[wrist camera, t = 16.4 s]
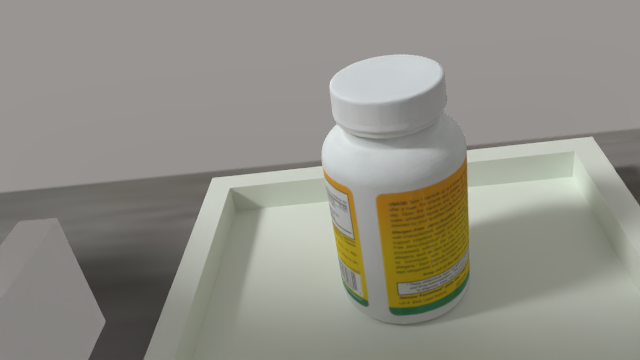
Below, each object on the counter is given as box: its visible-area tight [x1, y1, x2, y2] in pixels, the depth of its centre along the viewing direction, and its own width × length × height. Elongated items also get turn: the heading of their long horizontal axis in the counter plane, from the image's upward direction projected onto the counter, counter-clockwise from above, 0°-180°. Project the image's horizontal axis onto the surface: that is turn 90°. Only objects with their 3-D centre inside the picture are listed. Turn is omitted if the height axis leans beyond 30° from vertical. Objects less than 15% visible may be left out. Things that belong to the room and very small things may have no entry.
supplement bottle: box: [322, 55, 470, 324], centre depth 23 cm, size 5×5×10 cm
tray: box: [144, 137, 640, 360], centre depth 26 cm, size 20×16×2 cm
